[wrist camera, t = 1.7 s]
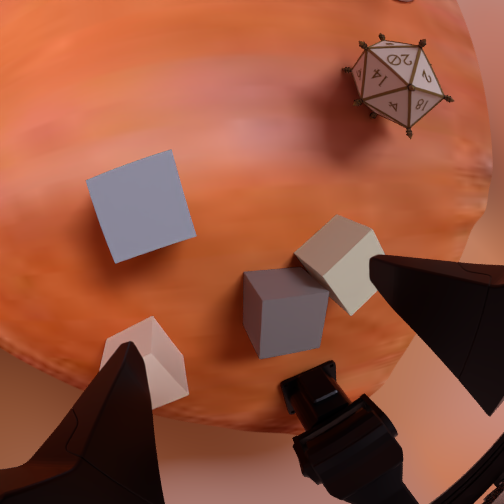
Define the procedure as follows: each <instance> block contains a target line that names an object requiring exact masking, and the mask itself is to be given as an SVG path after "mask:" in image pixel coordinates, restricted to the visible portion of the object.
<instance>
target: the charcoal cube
mask: <svg viewBox="0 0 504 504" xmlns="http://www.w3.org/2000/svg"><path fill="white" fill-rule="evenodd" d="M328 297H329V291H328V290H327V289H326V288H324V287H323V286H322V285H321V284H320V283H319V282H318V281H316V280H315V279H314V278H313V277H312V276H311V275H310V274H308V273H307V272H306V271H305V270H304V269H303V268H301V267H293V268H282V269H271V270H260V271H248V272H244V283H243V326H244V328H245V330H246V332H247V334H248V336H249V338H250V341H251V343H252V345H253V347H254V349H255V351H256V353H257V355H258V357H259V359H264V358H269V357H275V356H280V355H286V354H291V353H296V352H301V351H305V350H310V349H315V348H319V347H320V343H321V338H322V332H323V327H324V321H325V315H326V310H327V304H328Z"/></svg>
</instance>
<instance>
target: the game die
mask: <svg viewBox="0 0 504 504" xmlns="http://www.w3.org/2000/svg"><path fill="white" fill-rule="evenodd" d="M384 36H385V35H383V34H381V33H380V34H379V38H380V40H381V41H380V42H378V43H376V44H373V45H371V46H369V47H367V44H365V42H362V41H359V46H360V47H361V48H363V49H365V50H364V51H363V53H362V54H361V56H360V57H359V59H358V60H357V62H356V63H355V65H354V66H353V68H352V69H350V68H349V67H345V68H343V70H344V71H345V72H348V73H349V72H351V73H352V76H353V79H354V82H355V85H356V88H357V91H358V94H359V97H360V99H356V100H354V103H353V106H357V107H358V106H359V105H361V104H362V103H364V104H365V105H366V106H367V107H368V108H370V109H371V110H372V111H373V112H372V113H371V114H370V116H371V119H372V118H375V117H376V114H378V115H380V116H382V117H384V118H386V119H389V120H391V121H393V122H395V123H397V124H399V125H401V126H403V127H405V128H406V129H407V131H406V132H407V134H406V135H407V136H408V137H409V138H410V139H411V137H412V135H413V134H412V131H411V127H412V126H413V125H415V124H416V123H417V122H418V121H419V120H420V119H421V118H423V117H424V116H425V115H426V114H427V113H428V112H429V111H431V110H432V109H433V108H434V107H435V106H436V105H437V104H438V103H440V102H441V101H442V100H443V99H445V100H446V101H448V102H449V103H450V102H453V101H454V100H453V99H452V98H451V96H448V95H447V96H446V95H444V93H443V91H442V88H441V86H440V84H439V82H438V79H437V77H436V75H435V73H434V71H433V69H432V67H431V64H430V62H429V60H428V59H427V57H426V55H425V53H424V51H423V49H422V47H424V46H425V45H426V39H423V40H420V42H419V45H412V44H407V43H401V42H394V41H387V40H385V37H384Z"/></svg>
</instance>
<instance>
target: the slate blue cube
mask: <svg viewBox="0 0 504 504" xmlns="http://www.w3.org/2000/svg"><path fill="white" fill-rule="evenodd" d="M86 183H87V186H88V189H89V193H90V196H91V199H92V202H93V205H94V208H95V211H96V214H97V217H98V220H99V223H100V226H101V228H102V231H103V234H104V236H105V239H106V242H107V244H108V247H109V249H110V252H111V254H112V257H113V259H114V262H115V264H116V263H118V262H121V261H124V260H127V259H130V258H133V257H136V256H139V255H141V254H144V253H147V252H150V251H153V250H156V249H159V248H162V247H165V246H168V245H171V244H174V243H177V242H180V241H183V240H186V239H189V238H192V237H195V236H196V233H195V230H194V226H193V223H192V220H191V216H190V213H189V210H188V206H187V203H186V200H185V196H184V193H183V189H182V186H181V182H180V179H179V175H178V171H177V168H176V164H175V161H174V157H173V153H172V149H171V150H168V151H164V152H161V153H158V154H155V155H152V156H149V157H146V158H143V159H140V160H137V161H135V162H132V163H129V164H126V165H123V166H121V167H118V168H115V169H113V170H110V171H108V172H105V173H103V174H100V175H98V176H95V177H93V178H90V179H88V180H86Z"/></svg>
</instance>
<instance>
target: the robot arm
mask: <svg viewBox="0 0 504 504" xmlns="http://www.w3.org/2000/svg"><path fill="white" fill-rule="evenodd" d="M369 278H370V281H371V283H372V284H373V285H374V286H375V288H376V289H377V290H378V291H379V292H380V294H381V295H382V296H383V297H384V299H385V300H386V301H387V302H388V304H389V305H390V306H391V307H392V308H393V310H394V311H395V312H396V313H397V314H398V315H399V316H400V317H401V318H402V319H403V320H404V321H405V322H406V323H407V324H408V325H409V326H410V327H411V328H412V329H413V330H414V331H415V332H416V333H417V334H418V336H419V337H420V338H421V339H422V340H423V341H424V342H425V343H426V344H427V345H428V346H429V347H430V348H431V349H432V351H433V352H434V353H435V354H436V355H437V356H438V357H439V358H440V359H441V361H442V362H443V363H444V364H445V365H446V366H447V367H448V368H449V370H450V371H451V372H452V373H453V374H454V375H455V376H456V377H457V378H458V379H459V381H460V382H461V384H462V385H463V386H464V387H465V388H466V389H467V390H468V392H469V393H470V394H471V395H472V397H473V398H474V399H475V400H476V401H477V403H478V404H479V405H480V406H481V407H482V409H483V410H484V411H485V412H486V414H487V415H488V416H491V415H492V414H493V413H494V412H495V410H496V409H497V408H498V407H499V406H500V404H501V403H502V402H503V401H504V266H503V265H485V264H484V265H483V264H471V263H461V262H451V261H441V260H432V259H422V258H412V257H402V256H392V255H382V254H378V255H375V256H373V257H371V258H370V259H369ZM281 388H282V392H283V395H284V399H285V403H286V406H287V410H288V413H289V414H294V413H296V414H297V416H298V418H299V420H300V421H301V423H302V425H303V427H304V429H305V430H306V432H304V433H302V434H300V435H298V436H295V437H293V438H292V439H293V441H294V445H293V448H294V450H295V452H296V454H297V457H298V459H299V463H300V467H301V472H302V474H303V475H304V477H308V478H311V479H312V480H313V481H314V482H315V483H316V484H317V485H319V484H321V483H322V484H323V485H324V487H325V488H326V489H327V491H328V492H329V494H330V495H332V496H334V497H336V498H338V499H340V500H344V501H346V502H349V503H351V504H419V503H418V502H417V501H416V499H415V498H414V496H413V495H412V494H411V492H410V491H409V490H408V489H407V487H406V486H405V484H404V483H403V482H402V474H403V472H402V471H403V463H402V462H403V451H402V448H401V446H400V445H399V444H398V442H397V441H396V439H395V437H396V436H397V435H398V433H397V431H396V429H395V427H394V425H393V424H392V422H391V421H390V419H389V418H388V417H387V416H386V415H385V413H384V412H382V410H381V409H380V408H378V406H376V404H375V403H374V402H373V401H372V400H371V399H370V398H369V397H368V396H367V395H366V394H362V395H361V396H360V398H358V399H357V400H355V401H354V402H351V401H350V399H349V398H348V397H347V395H346V394H345V393H344V391H343V390H342V389H341V387H340V386H339V385H338V384H337V382H336V365H335V362H334V361H333V360H331V361H328V362H326V363H324V364H322V365H320V366H317V367H315V368H313V369H311V370H309V371H306V372H304V373H302V374H299V375H297V376H295V377H292V378H290V379H287V380H285V381H283V382H282V383H281ZM72 408H73V409H70V411H69V412H68V414H67V415H66V416H65V418H64V419H63V420H62V422H61V423H60V425H59V426H58V427H57V428H56V429H55V430H54V432H53V433H52V434H51V435H50V436H49V438H48V439H47V440H46V441H45V442H44V444H43V445H42V446H41V447H40V448H39V449H38V451H37V452H36V453H35V454H34V456H33V457H32V458H31V459H30V460H29V461H27V462H26V463H25V464H23V465H21V466H18V467H14V468H8V469H0V504H165V502H164V497H163V492H162V486H161V480H160V474H159V467H158V460H157V453H156V444H155V435H154V425H153V414H152V402H151V396H150V390H149V385H148V379H147V373H146V367H145V362H144V359H143V357H142V356H141V354H140V352H139V351H138V349H137V347H136V345H135V344H134V342H132V341H128V342H125V343H122V344H121V345H120V346H119V347H118V348H117V350H116V351H115V352H114V353H113V355H112V356H111V357H110V358H109V360H108V361H107V362H106V364H105V365H104V366H103V367H102V369H101V370H100V371H99V373H98V374H97V375H96V376H95V378H94V379H93V380H92V382H91V383H90V384H89V386H88V387H87V388H86V389H85V391H84V392H83V393H82V395H81V396H80V398H79V399H78V400H77V402H76V403H75V404H74V406H73V407H72ZM492 484H494V485H495V486H496V487H497V488H496V489H495V490H493V491H492V492H491V493H490V494H489V495H487V496H486V497H485V498H484V502H483V503H482V504H504V432H503V434H502V435H501V436H500V437H499V438H498V439H497V441H496V442H495V443H494V444H493V445H492V446H491V448H490V449H489V450H488V451H487V452H486V453H485V454H484V455H483V456H482V457H481V458H480V459H479V460H478V461H477V462H476V463H475V464H474V465H473V466H472V467H471V468H470V469H469V470H468V471H467V472H466V473H465V474H464V475H463V476H462V477H461V478H460V479H459V480H458V481H456V482H455V483H454V484H453V485H452V486H451V487H450V488H448V489H447V490H446V491H445V492H444V493H442V494H441V495H440V496H439V497H437V498H436V499H435V500H434V501H432V502H431V503H430V504H473V503H474V502H475V501H476V500H478V499H479V498H480V496H482V495H483V494H484V493H485V492H486V490H487V489H488V488H489V487H490V486H491V485H492Z"/></svg>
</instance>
